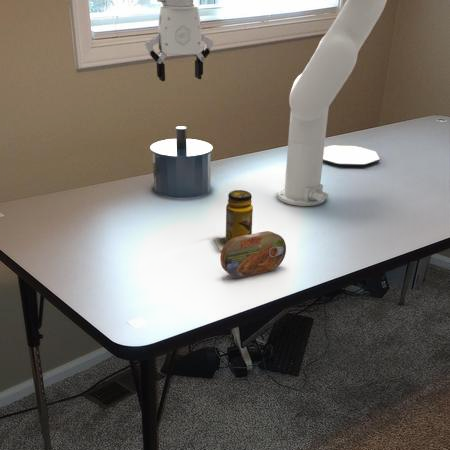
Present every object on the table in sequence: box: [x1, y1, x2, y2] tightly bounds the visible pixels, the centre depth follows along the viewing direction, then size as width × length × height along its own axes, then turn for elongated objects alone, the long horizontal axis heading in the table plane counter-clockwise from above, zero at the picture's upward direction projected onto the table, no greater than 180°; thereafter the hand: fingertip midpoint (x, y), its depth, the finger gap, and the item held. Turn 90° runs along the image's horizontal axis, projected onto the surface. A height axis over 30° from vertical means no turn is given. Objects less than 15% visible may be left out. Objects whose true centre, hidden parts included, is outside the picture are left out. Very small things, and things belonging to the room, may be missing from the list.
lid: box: [149, 125, 214, 159], centre depth 174 cm, size 17×17×6 cm
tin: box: [219, 230, 287, 279], centre depth 138 cm, size 15×3×8 cm, turn 117°
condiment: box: [213, 189, 254, 252], centre depth 149 cm, size 7×8×12 cm
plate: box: [323, 145, 381, 166], centre depth 208 cm, size 20×20×2 cm
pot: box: [152, 152, 212, 199], centre depth 179 cm, size 16×16×11 cm
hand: (180, 79), depth 165 cm, fingers open, 9 cm apart
